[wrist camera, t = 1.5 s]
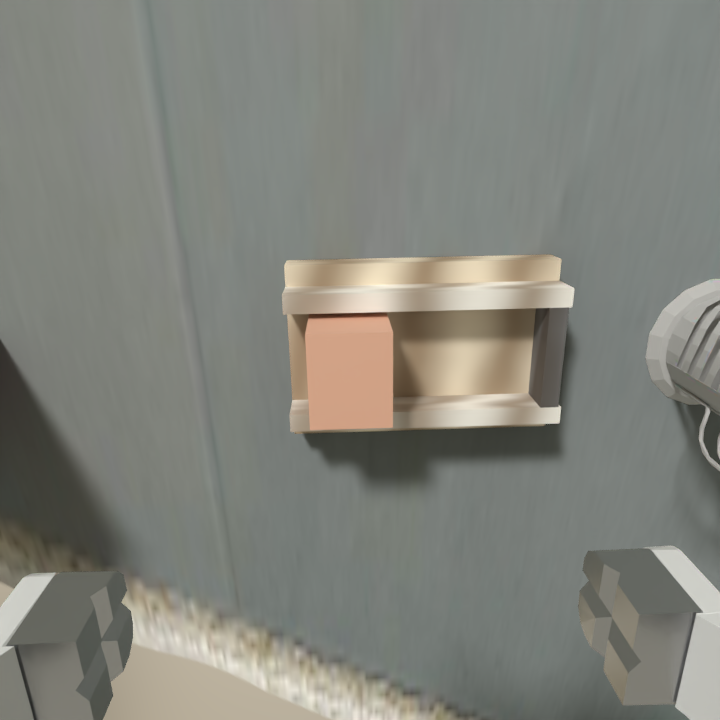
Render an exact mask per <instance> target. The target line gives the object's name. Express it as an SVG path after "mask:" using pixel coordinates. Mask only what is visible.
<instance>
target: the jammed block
mask: <svg viewBox="0 0 720 720" xmlns="http://www.w3.org/2000/svg"><path fill="white" fill-rule="evenodd" d="M305 344H306V364H307V383H308V403H309V422H310V430H336V429H368V428H393V330H392V327H391V324H390V321H389V318H388V315H387V312H367V313H327V314H309V317H308V322H307V327H306V332H305Z"/></svg>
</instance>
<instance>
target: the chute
mask: <svg viewBox="0 0 720 720" xmlns="http://www.w3.org/2000/svg"><path fill="white" fill-rule="evenodd" d="M561 260H562V259H560V258H558V257H555V256H553V255H509V256H464V257H419V258H375V259H330V260H287V261H286V263H285V265H284V269H285V285H286V287H285V290H284V292H283V294H282V305H283V315H287V317H288V334H289V350H290V366H291V382H292V399H293V401H292V406H291V411H290V429H291V432H295V434H301V433H333V432H365V431H397V430H430V429H462V428H494V427H526V426H545V424H558V423H559V422H560V413H561V406H560V405H559V396H560V387H561V377H562V368H563V359H564V350H565V341H566V332H567V323H568V314H569V307H572V306H573V297H574V288H573V287H571V286H569V285H567V284H565V283H563V282H561V281H559V279H560V269H561ZM367 312H387V315H388V318H389V321H390V324H391V327H392V330H393V428H368V429H336V430H310V422H309V403H308V383H307V364H306V344H305V332H306V327H307V322H308V317H309V314H327V313H367Z"/></svg>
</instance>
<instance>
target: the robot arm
mask: <svg viewBox="0 0 720 720" xmlns="http://www.w3.org/2000/svg"><path fill="white" fill-rule="evenodd" d="M583 571H584V573H585V575H586V576H587V578H588V580H589V581H588V582H587V583H586V584H585V586H584V587H583V588H582V589H581V590H580V593H579V604H578V608H579V616H580V623H581V626H582V629H583V632H584V634H585V637H586V639H587V641H588V642H589V644H590V646H591V648H592V649H594V650H595V651H597V652H598V653H599V654H601V655H602V656H604V657H605V662H604V669H603V670H604V672H605V674H606V676H607V678H608V679H609V681H610V683H611V685H612V687H613V688H614V690H615V692H616V694H617V696H618V698H619V699H620V701H621V703H622V705H660V704H676V705H675V707H676V708H677V709H678V710H679V711H681V712H682V713H683V714H684V715H686V716H687V717H688V718H689V719H690V720H720V592H719V591H718V590H717V589H716V588H715V587H714V586H713V585H712V584H711V583H710V582H709V580H708V579H707V578H706V577H705V576H704V575H703V574H702V573H701V572H700V571H699V570H698V569H697V568H696V566H695V565H694V564H693V563H692V562H691V561H690V560H689V559H688V558H687V557H686V556H685V555H684V553H683V552H682V551H681V550H680V549H678V548H676V547H674V546H672V545H671V546H657V547H644V548H638V549H618V550H597V551H588V552H587V554H586V556H585V558H584V564H583ZM126 591H127V589H126V584H125V580H124V575H123V574H122V573H120V572H119V571H91V572H60V573H31V574H29V575H27V576H25V577H23V578H22V579H21V581H20V582H19V583H18V584H17V586H16V587H15V588H14V590H13V591H12V592H11V594H10V595H9V596H8V597H7V599H6V600H5V601H4V603H3V604H2V605H1V607H0V720H103V718H104V716H105V713H106V711H107V708H108V706H109V704H110V701H111V699H112V697H113V693H112V687H111V681H112V680H113V679H115V678H116V677H117V676H118V675H119V674H120V673H122V672H123V670H124V668H125V665H126V663H127V660H128V658H129V654H130V649H131V644H132V639H133V622H132V616H131V611H130V610H129V609H128V608H127V607H125V606H124V605H123V604H122V603H121V601H122V599H123V597H124V595H125V593H126Z"/></svg>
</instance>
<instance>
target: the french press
mask: <svg viewBox="0 0 720 720" xmlns="http://www.w3.org/2000/svg"><path fill="white" fill-rule="evenodd" d="M646 362H647V366H648V369H649V373H650V376H651V380H652V382H653V383H654V384H655V385H656V386H657V387H658V388H659V389H660V390H661V391H662V392H663V393H664V394H665V395H666V397H669V398H671V399H674V400H677V401H679V402H682V403H685V404H687V405H698V404H702V405H703V406H705V407H706V409H705V414H704V417H703V420H702V423H701V425H700V429H699V442H700V446H701V449H702V453H703V454H704V456H705V457H706V459H707V460H708V462H709V463H710V464H711V465H712V466H713V467H715V468H716V469H717V470H718V471H720V465H719V464H718V463H716V462H715V461H714V460H713V459H712V458H711V457H710V456H709V454H708V452H707V449H706V447H705V445H704V443H703V437H704V428H705V425H706V423H707V420H708V417H709V414H710V410H711V411H713V412H714V413H716V414H717V415H719V416H720V279H711V280H708V281H706V282H703V283H701V284H699V285H696V286H694V287H691V288H689V289H687V290H685V291H683V292H682V293H681V294H680V295H679V296H678V297H677V298H676V299H674V300H673V301H672V302H671V303H670V304H669V305H668V306H666V307H665V308H664V309H663V310H662V312H661V314H660V316H659V317H658V319H657V321H656V323H655V325H654V326H653V328H652V330H651V332H650V333H649V339H648V345H647V352H646ZM717 455H718V457H719V459H720V433H719V436H718V439H717Z"/></svg>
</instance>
